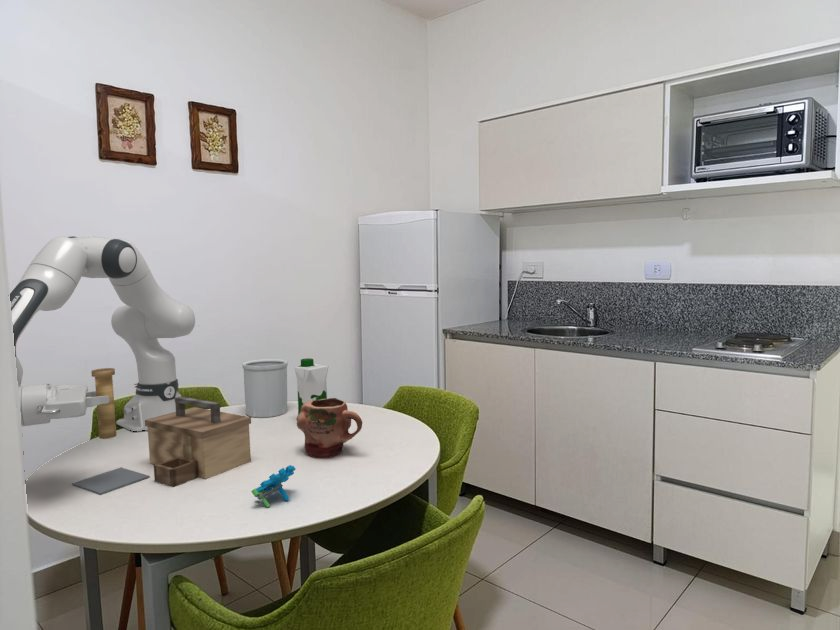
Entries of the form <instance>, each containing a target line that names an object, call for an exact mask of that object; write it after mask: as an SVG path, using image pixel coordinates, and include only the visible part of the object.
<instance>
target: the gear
mask: <svg viewBox="0 0 840 630" xmlns="http://www.w3.org/2000/svg"><path fill="white" fill-rule="evenodd" d="M295 471H296V467H295V466H294V465H292V464H290V465H289V464H288V465H287V466H286V467H282V468H280V469H279V470H278V473H276V474H275V473H272V474H271V475H270V476H268V479H267V480H263V481H262V482H261V483H260V484H259V485H260V486H258V487H256V488H254V489H252V490H251V493H252V495H253V496H254V497H255V498H257V500H259V501H262V502H263V504H264V506H265V507H266V508H267V509H268V508H269V507H271V505H270V502H268V500H267V499H266V497H268V496H270V495H271V494H274V493H275V492H277V491H278V493H279V494H280V495H281V497H282V498H283V500H284V502H287V501H288V500H290V496H289V494H287V492H286V490H285V489H284V487H283V486H284V485H283V484H282V483H286V482H287V481H288V480H289V479H290V478H289V477H291V476H293V475H294V474H295Z"/></svg>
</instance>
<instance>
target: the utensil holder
mask: <svg viewBox="0 0 840 630" xmlns="http://www.w3.org/2000/svg"><path fill="white" fill-rule="evenodd" d="M242 369H243V385H244V387H243V389H244V404H245V405H244V406H245V415H246V416H247V417H251V418H259V419H260V418H261V419H262V418H273V417H279V416H282V415H284V414H285V413H287V412H288V361H287V360H286V359H280V358H278V359H277V358H262V359H252V360H247V361H244V362H242Z"/></svg>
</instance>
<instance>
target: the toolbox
mask: <svg viewBox="0 0 840 630" xmlns="http://www.w3.org/2000/svg"><path fill="white" fill-rule="evenodd" d="M175 405H176V412H173V413H169V414H166V415H162V416H158V417H154V418H150V419H147V420H145V426H147V427H148V430H147V436H148V437H147V438H148V452H149V454H148V455H149V464H150V463H151V464H150V465H153V464H155V465H153V475H154V477H153V479H154V482H155V483H158V484H161V485H165V486H169V487H171V488H174V487H177V486H179V485H181V484H184V483H187V482H190V481H192V480H195V479H197V478H198V479H199V478H200V479H205V480H207V479H209V478H212V477H214V476H217V475H219V474H223V473H224V472H227V471H230V470H232V469H235V468H237V467H241V466H243V465H245V464H247V462H248V463H250V462H252V460H251V459H252V456H251V440H250V439H251V437H250V425H251V424H252V417H250V416H247V415H242V414H241V415H239V414H236V413H228V412H223V411H221V403H220V402H214V401H209V400H204V399H197V398H192V397H186V396H182V395H181V396H179V397H175ZM185 405H189V406H193V407H189V408H186V406H185ZM242 464H243V465H242Z"/></svg>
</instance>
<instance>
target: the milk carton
mask: <svg viewBox="0 0 840 630" xmlns="http://www.w3.org/2000/svg"><path fill="white" fill-rule="evenodd" d="M314 362H315V361H314V359H313V358H309V357H308V358H302V359H300V365H298V366H295V367H294V371H295V378H296V385H297V408H298V410H297V411H298V412H297V416H298V415H299V414H300V410H301V407H302V405H303V404H304V403H306V402H308V401H311V400H321V399H328V392H327V391H328V390H327V378H328V377H327V376H328V371H329V366H328V365H324V364H320V363H314Z"/></svg>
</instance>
